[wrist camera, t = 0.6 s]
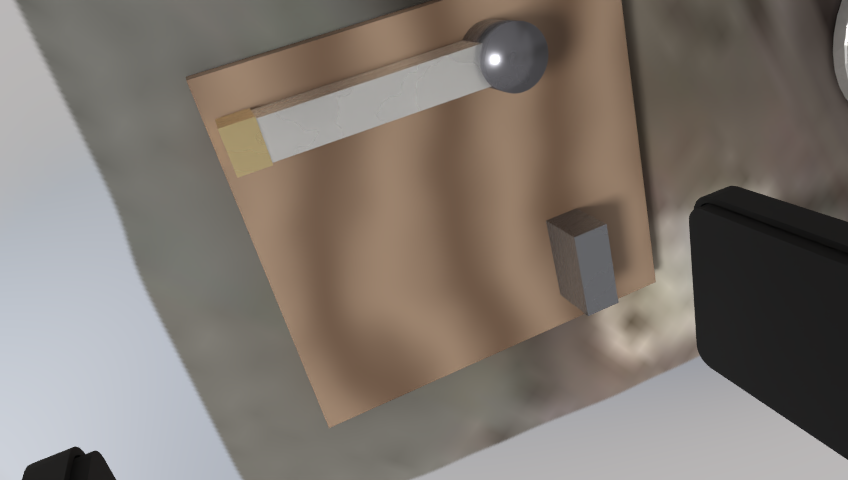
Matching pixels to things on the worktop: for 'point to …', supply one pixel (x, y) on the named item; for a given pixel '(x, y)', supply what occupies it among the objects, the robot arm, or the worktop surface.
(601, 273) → the block
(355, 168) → the lock board
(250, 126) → the bar
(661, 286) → the worktop surface
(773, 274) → the robot arm
